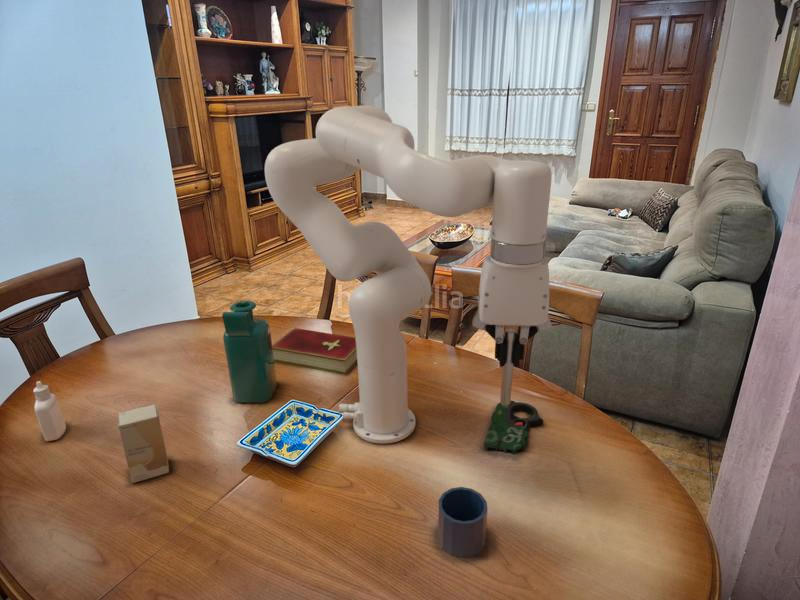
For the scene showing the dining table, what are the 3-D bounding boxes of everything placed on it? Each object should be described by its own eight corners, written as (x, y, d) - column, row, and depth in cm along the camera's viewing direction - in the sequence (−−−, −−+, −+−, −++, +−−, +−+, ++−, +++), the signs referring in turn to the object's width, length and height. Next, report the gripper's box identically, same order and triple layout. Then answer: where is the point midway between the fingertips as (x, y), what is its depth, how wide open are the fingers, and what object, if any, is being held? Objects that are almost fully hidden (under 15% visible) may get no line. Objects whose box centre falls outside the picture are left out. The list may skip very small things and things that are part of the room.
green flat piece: (536, 455, 92) (481, 443, 95) (535, 462, 93) (481, 450, 96) (545, 406, 106) (497, 397, 109) (545, 412, 107) (497, 403, 110)
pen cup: (438, 559, 74) (439, 523, 71) (437, 520, 81) (438, 486, 78) (487, 561, 74) (489, 524, 71) (482, 522, 80) (484, 487, 77)
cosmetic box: (131, 484, 89) (115, 426, 84) (131, 469, 93) (115, 413, 88) (171, 472, 92) (158, 415, 87) (169, 458, 95) (156, 402, 91)
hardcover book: (295, 340, 139) (294, 326, 137) (366, 351, 132) (365, 337, 131) (270, 360, 129) (268, 346, 127) (346, 374, 122) (345, 359, 120)
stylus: (500, 405, 83) (506, 333, 77) (499, 399, 84) (505, 328, 79) (510, 405, 82) (516, 333, 77) (509, 399, 84) (515, 328, 79)
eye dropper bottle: (75, 425, 105) (59, 375, 100) (54, 443, 100) (36, 391, 95) (57, 423, 106) (40, 373, 101) (35, 440, 101) (16, 388, 96)
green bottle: (243, 382, 119) (229, 295, 111) (279, 383, 119) (268, 295, 110) (228, 407, 110) (212, 314, 102) (267, 407, 110) (254, 314, 101)
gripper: (567, 243, 76) (554, 352, 83) (461, 242, 77) (457, 349, 84) (579, 259, 69) (564, 376, 76) (462, 257, 70) (458, 373, 78)
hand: (508, 361), depth 80 cm, fingers closed on stylus, 1 cm apart
